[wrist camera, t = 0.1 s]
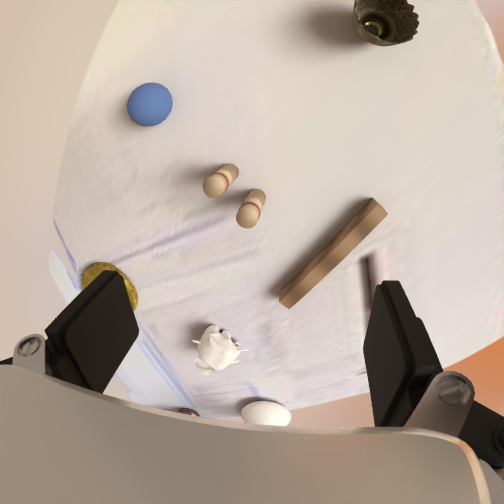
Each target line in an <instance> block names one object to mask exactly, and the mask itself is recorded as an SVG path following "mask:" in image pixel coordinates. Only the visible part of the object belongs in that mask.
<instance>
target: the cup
mask: <svg viewBox="0 0 504 504" xmlns="http://www.w3.org/2000/svg"><path fill="white" fill-rule="evenodd" d="M413 9H414V6H413V5H411V4H408V2H407V0H355V4H354V10H353V23H354V26H355V29H356V30H357V32H358V33H359V35H360V36H361V37H362V38H363V39H365V40H366V41H368V42H370V43H372V44H374V45H378V46H392V45H396V44H400V43H404V42H407V41H410V40H412V39H413V35H415V34H416V33H417V32H418V31H417V30H415V29H416V28H417V27H418V25H419V21H418V14H416V13H414V12H412V11H413ZM368 25H374V26H375V27H376V28H377V29H378V34H377V35H373V34H371V33H370V32H369V31H367V29H366V27H367V26H368Z"/></svg>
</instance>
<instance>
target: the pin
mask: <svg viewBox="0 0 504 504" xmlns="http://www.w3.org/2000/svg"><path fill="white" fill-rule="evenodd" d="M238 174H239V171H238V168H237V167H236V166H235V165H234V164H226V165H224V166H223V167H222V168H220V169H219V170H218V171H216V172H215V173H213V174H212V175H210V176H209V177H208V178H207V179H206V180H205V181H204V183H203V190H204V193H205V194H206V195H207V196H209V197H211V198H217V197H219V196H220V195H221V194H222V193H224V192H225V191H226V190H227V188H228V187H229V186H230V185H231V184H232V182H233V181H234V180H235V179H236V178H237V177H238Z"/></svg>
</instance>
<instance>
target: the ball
mask: <svg viewBox="0 0 504 504" xmlns="http://www.w3.org/2000/svg"><path fill="white" fill-rule="evenodd" d="M127 108H128V113H129V115H130V117H131V119H132V120H133V121H134V122H136V123H137V124H139V125H142V126H154V125H157V124H159V123H161V122H162V121H164V120H165V119H166V118H167V117H168V115H169V114H170V112H171V109H172V97H171V94H170V92H169V91H168V89H167V88H165V87H164V86H163V85H161V84H158V83H146V84H143V85H141V86H139V87H137V88H136V89H135V90H134V91H133V92H132V94H131V95H130V97H129V100H128V104H127Z"/></svg>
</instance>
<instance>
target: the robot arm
mask: <svg viewBox="0 0 504 504" xmlns="http://www.w3.org/2000/svg"><path fill="white" fill-rule="evenodd" d="M45 333H46V335H47V336H48V339H47V340H45V339H44V337H43V336H42V335H39V334H32V335H29V336H26V337H24V338H23V339H21V340H20V341H19V342H18V344H17V345H16V347H15V349H14V355H13V357H11V358H9V359H6V360H3V361H0V504H504V417H503V416H501V415H499V414H498V413H496V412H494V411H492V410H490V409H489V408H487V407H485V406H483V405H482V404H480V403H478V402H476V401H474V396H475V391H474V386H473V384H472V382H471V381H470V380H469V379H468V378H467V377H466V376H464V375H463V374H461V373H458V372H455V371H445V372H443V369H442V367H441V364H440V362H439V359H438V357H437V354H436V352H435V349H434V347H433V345H432V342H431V340H430V338H429V335H428V333H427V331H426V328H425V326H424V324H423V322H422V320H421V319H420V318H419V317H416V315H415V313H414V311H413V309H412V307H411V305H410V302H409V300H408V298H407V296H406V294H405V292H404V290H403V288H402V286H401V284H400V282H399V281H384V280H383V281H382V283H381V285H377V286H376V290H375V295H374V300H373V305H372V310H371V314H370V319H369V323H368V328H367V332H366V336H365V340H364V345H363V353H364V358H365V364H366V370H367V376H368V382H369V388H370V394H371V401H372V408H373V415H374V423H375V427H348V428H323V427H321V428H320V427H291V426H274V425H262V424H251V423H241V422H233V421H225V420H218V419H211V418H205V417H199V416H193V415H187V414H182V413H177V412H172V411H167V410H163V409H158V408H154V407H149V406H145V405H141V404H137V403H133V402H129V401H125V400H121V399H118V398H115V397H111V396H108V395H104V394H102V393H103V392H104V390H105V388H106V387H107V385H108V383H109V382H110V380H111V378H112V377H113V375H114V374H115V372H116V370H117V369H118V367H119V365H120V364H121V362H122V361H123V359H124V357H125V356H126V354H127V353H128V351H129V350H130V348H131V346H132V345H133V343H134V342H135V340H136V339H137V337H138V334H139V328H138V325H137V322H136V319H135V315H134V312H133V309H132V306H131V303H130V299H129V296H128V292H127V289H126V285H125V282H124V278H123V276H122V275H120V273H119V272H118V271H115V270H104V271H102V272H101V273H100V274H99V275H98V276H97V277H96V278H95V279H94V280H93V281H92V282H91V283H90V284H89V285H88V286H87V287H86V288H85V289H84V290H83V291H82V292H81V293H80V294H79V295H78V296H77V297H76V298H75V299H74V300H73V301H72V302H71V303H70V304H69V305H68V306H67V307H66V308H65V309H64V310H63V311H62V312H61V313H60V314H59V315H58V316H57V318H55V320H54V321H53V322H52V323H51V324H50V325H49V326H48V327H47V328H46V329H45Z"/></svg>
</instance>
